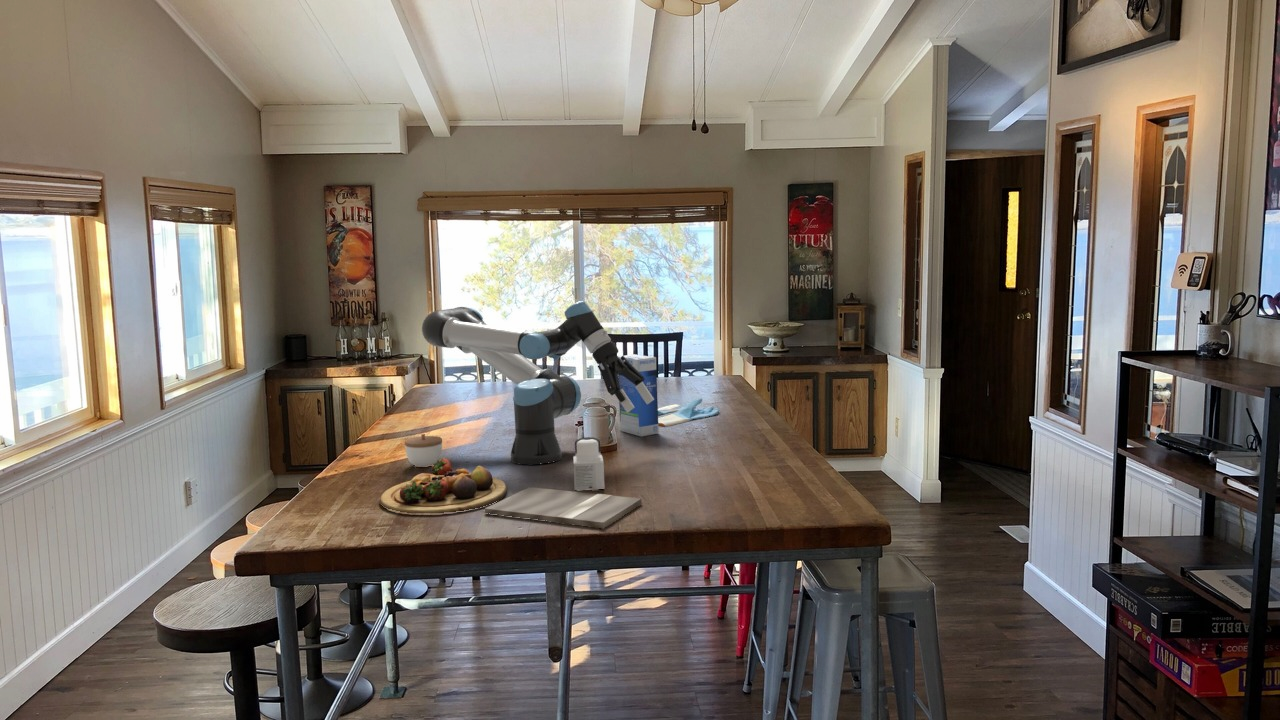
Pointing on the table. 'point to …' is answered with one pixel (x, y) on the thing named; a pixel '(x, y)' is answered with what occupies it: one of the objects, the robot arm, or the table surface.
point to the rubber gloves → (684, 413)
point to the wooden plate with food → (445, 490)
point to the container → (588, 464)
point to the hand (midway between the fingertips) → (641, 406)
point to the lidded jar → (424, 450)
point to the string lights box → (640, 398)
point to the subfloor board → (565, 507)
